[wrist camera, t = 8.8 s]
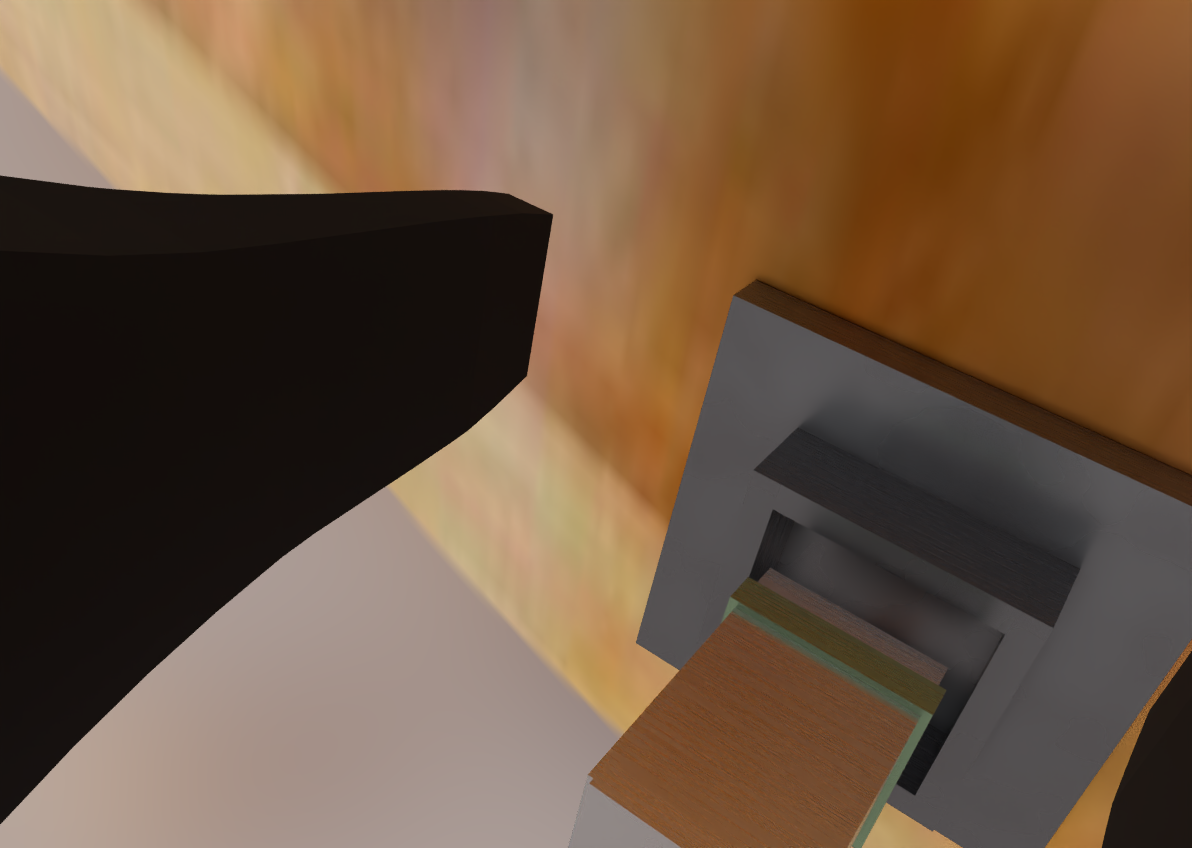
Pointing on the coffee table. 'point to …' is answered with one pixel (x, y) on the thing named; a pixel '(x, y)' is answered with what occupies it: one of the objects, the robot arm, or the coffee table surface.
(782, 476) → the grey slotted holder
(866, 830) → the pull-out drawer
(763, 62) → the coffee table surface
